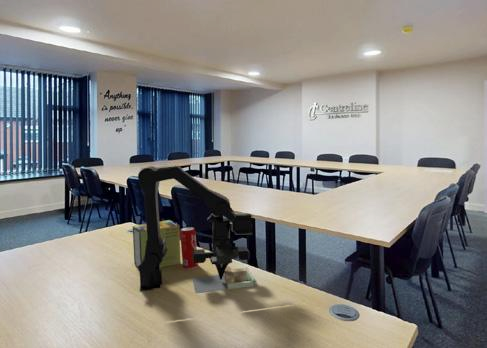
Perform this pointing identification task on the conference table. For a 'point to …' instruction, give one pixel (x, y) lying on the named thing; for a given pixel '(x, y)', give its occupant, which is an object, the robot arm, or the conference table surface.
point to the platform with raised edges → (220, 283)
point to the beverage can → (188, 247)
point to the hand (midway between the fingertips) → (220, 279)
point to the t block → (234, 275)
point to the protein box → (167, 232)
